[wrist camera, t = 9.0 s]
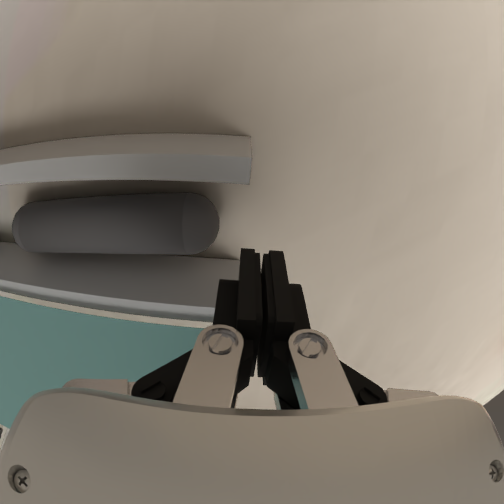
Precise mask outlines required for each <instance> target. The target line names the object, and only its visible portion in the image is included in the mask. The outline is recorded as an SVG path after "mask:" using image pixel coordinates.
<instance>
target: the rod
mask: <svg viewBox="0 0 504 504" xmlns="http://www.w3.org/2000/svg"><path fill="white" fill-rule="evenodd" d="M218 231H219V216H218V212H217V210H216V208H215V206H214V205H213V204H212V203H211V202H210V201H209V200H208V199H207V198H205V197H203V196H202V195H199V194H195V193H159V194H134V195H114V196H98V197H84V198H72V199H60V200H50V201H40V202H31V203H28V204H25V205H24V206H22V207H21V208H20V209H19V210H18V212H17V213H16V215H15V217H14V220H13V224H12V232H13V236H14V239H15V241H16V243H17V244H18V245H19V247H21V248H22V249H23V250H25V251H28V252H42V253H101V254H170V255H190V254H197V253H200V252H202V251H204V250H206V249H207V248H208V247H209V246H210V245H211V244H212V243H213V242H214V241H215V239H216V237H217V234H218Z"/></svg>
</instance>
